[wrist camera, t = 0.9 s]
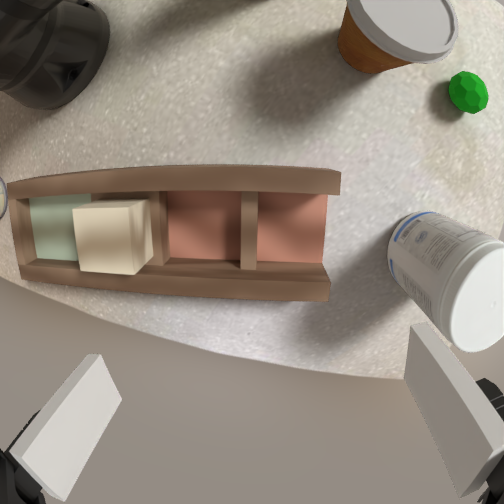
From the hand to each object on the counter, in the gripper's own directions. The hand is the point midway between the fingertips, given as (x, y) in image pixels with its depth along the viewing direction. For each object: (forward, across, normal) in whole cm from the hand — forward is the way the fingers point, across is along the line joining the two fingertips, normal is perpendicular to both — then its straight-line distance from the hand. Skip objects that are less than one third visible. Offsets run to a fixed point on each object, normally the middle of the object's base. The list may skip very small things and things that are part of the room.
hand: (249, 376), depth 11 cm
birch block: (+18, -14, +4) cm, 23 cm away
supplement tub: (+22, +18, -3) cm, 29 cm away
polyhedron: (+22, +25, +15) cm, 36 cm away
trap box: (+21, -11, +4) cm, 24 cm away
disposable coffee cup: (+21, +14, +20) cm, 32 cm away
